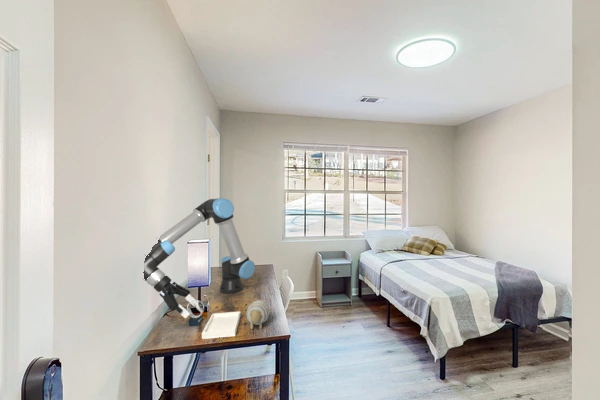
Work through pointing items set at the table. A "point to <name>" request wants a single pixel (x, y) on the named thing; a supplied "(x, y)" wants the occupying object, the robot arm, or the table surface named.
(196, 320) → the watch
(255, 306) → the toy sheep
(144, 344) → the table surface
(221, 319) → the tray
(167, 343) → the table surface
